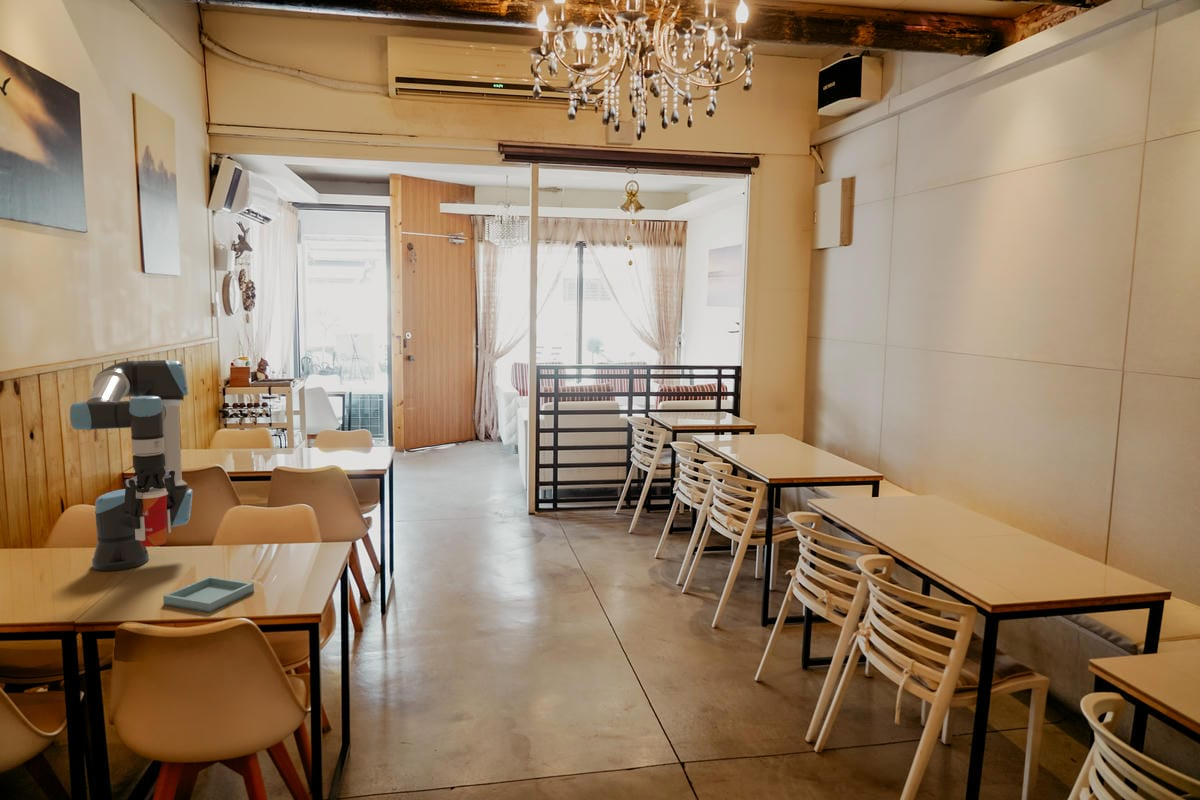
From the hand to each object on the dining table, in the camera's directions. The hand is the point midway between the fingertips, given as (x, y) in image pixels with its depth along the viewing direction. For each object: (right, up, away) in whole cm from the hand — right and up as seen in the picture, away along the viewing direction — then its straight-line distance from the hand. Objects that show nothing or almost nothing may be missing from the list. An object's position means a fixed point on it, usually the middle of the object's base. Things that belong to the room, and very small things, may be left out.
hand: (153, 535), depth 204 cm
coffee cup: (0, -2, 0) cm, 2 cm away
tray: (+12, -19, +7) cm, 23 cm away
